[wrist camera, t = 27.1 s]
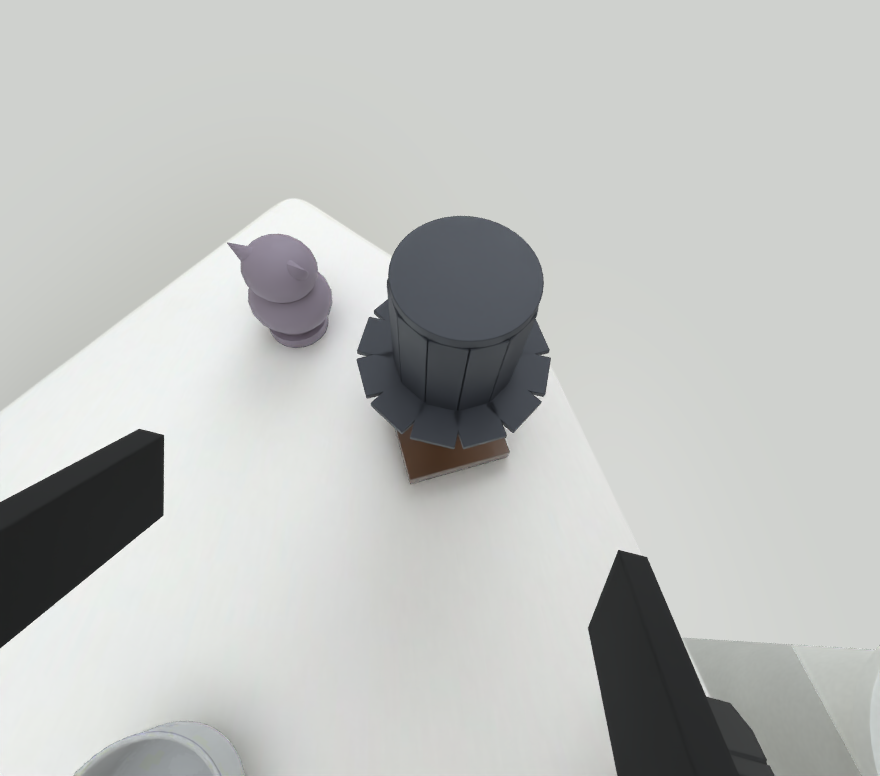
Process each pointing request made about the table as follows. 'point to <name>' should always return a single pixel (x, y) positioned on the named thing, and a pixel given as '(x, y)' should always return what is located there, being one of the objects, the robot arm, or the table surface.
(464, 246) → the hat
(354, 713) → the table surface
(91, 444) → the table surface
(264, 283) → the cat figurine
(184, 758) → the teacup
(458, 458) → the stand
